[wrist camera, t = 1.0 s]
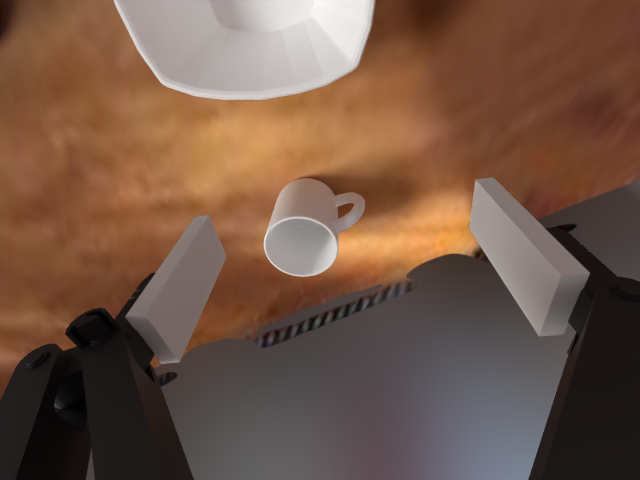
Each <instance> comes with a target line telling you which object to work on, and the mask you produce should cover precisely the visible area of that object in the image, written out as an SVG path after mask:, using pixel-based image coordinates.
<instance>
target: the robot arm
mask: <svg viewBox="0 0 640 480" xmlns="http://www.w3.org/2000/svg"><path fill="white" fill-rule="evenodd" d="M469 229H470V231H471V232H472V234H473V235H474V237H475V239H476V240H477V242H478V243H479V245H480V246H481V248H482V249H483V251H484V252H485V254H486V255H487V257H488V259H489V260H490V262H491V263H492V265H493V266H494V268H495V269H496V271H497V272H498V274H499V275H500V277H501V278H502V280H503V282H504V283H505V285H506V286H507V288H508V289H509V291H510V292H511V294H512V295H513V297H514V298H515V300H516V302H517V303H518V305H519V306H520V308H521V309H522V311H523V312H524V314H525V315H526V317H527V318H528V320H529V322H530V323H531V325H532V326H533V328H534V329H535V331H536V332H537V334H538V335H539V336H547V335H561V334H564V332H565V330H566V327H567V325H568V323H570V324H571V326H572V327H573V328H574V330H575V331H576V334H575V337H574V339H573V341H572V343H571V345H570V347H569V349H568V351H567V353H569V354H568V358H567V361H566V364H565V367H564V370H563V373H562V377H561V380H560V383H559V386H558V389H557V392H556V395H555V398H554V401H553V404H552V407H551V411H550V414H549V417H548V420H547V423H546V426H545V429H544V432H543V435H542V439H541V442H540V445H539V448H538V451H537V454H536V457H535V460H534V464H533V467H532V470H531V473H530V476H529V479H528V480H640V282H639V281H636V280H633V279H630V278H624V277H617V276H616V275H615V274H614V273H613V272H612V271H611V270H609V269H608V268H607V267H606V266H605V265H604V264H602V262H601V261H599V260H598V259H597V258H596V257H595V256H594V255H593V254H592V253H591V252H588V250H587V249H586V248H585V247H584V246H583V245H580V243H579V242H578V241H577V240H576V239H575V238H574V237H573V236H572V235H571V234H569V233H567V232H565V231H563V230H561V229H559V228H557V227H552V228H544V227H543V226H542V225H541V224H540V223H539V222H538V221H537V220H536V219H535V218H534V217H533V216H532V215H531V214H530V213H529V212H528V211H527V210H526V209H525V208H524V207H523V206H522V205H521V204H520V203H519V202H518V201H516V200H515V199H514V198H513V197H512V196H511V195H510V194H509V193H508V192H507V191H506V190H505V189H504V188H503V187H502V186H501V185H500V184H499V183H498V182H497V181H496V180H495V179H494V178H493V177H491V178H484V179H476V180H475V187H474V195H473V203H472V211H471V219H470V226H469ZM226 257H227V256H226V254H225V252H224V249H223V247H222V245H221V242H220V240H219V238H218V236H217V233H216V231H215V229H214V226H213V224H212V222H211V219H210V217H209V215H206V216H199V217H194V219H193V220H192V222H191V223H190V225H189V226H188V227H187V229H186V230H185V232H184V233H183V235H182V236H181V237H180V239H179V240H178V242H177V243H176V245H175V246H174V248H173V249H172V250H171V252H170V253H169V255H168V256H167V258H166V259H165V260H164V262H163V263H162V265H161V266H160V268H159V269H158V270H157V272H156V273H152V274H150V275H149V276H148V277H147V278H146V279H144V280H143V281H142V282H141V284H140V285H139V287H138V288H137V289H136V292H134V293H133V295H132V296H131V299H129V300H128V302H127V303H126V304H125V306H124V307H123V309H122V310H121V311H120V313H119V314H118V315H117V317H116V318H115V320H114V319H113V318H112V316H111V315H110V314H109V313H108V312H107V310H106V309H104V308H97V309H92V310H90V311H87V312H85V313H84V314H82V315H80V316H79V317H77V318H76V319H75V320H74V321H73V322H71V324H70V325H69V326H68V328H67V329H66V333H65V334H66V335H67V336H68V337H69V338H70V339H71V340H72V341H73V342H74V343H75V344H76V345H77V347H74V348H71V349H68V350H65V351H63V350H62V349H61V348H60V347H59V346H57V345H56V344H47V345H44V346H41V347H39V348H37V349H35V350H33V351H32V352H31V353H29V354H27V355H26V356H25V357H24V358H23V359H22V360H21V361H20V362H19V364H18V365H17V367H16V368H15V370H14V373H13V375H12V377H11V379H10V381H9V384H8V386H7V388H6V390H5V392H4V395H3V397H2V399H1V401H0V480H86V475H87V469H88V463H89V457H90V451H91V448H92V457H93V466H94V473H95V480H194V478H193V476H192V473H191V470H190V467H189V465H188V462H187V459H186V456H185V454H184V451H183V448H182V445H181V443H180V440H179V437H178V434H177V431H176V429H175V426H174V423H173V420H172V417H171V415H170V412H169V409H168V406H167V404H166V401H165V399H164V395H163V392H162V390H161V387H160V384H159V381H158V379H157V376H156V374H155V370H154V368H153V367H152V366H151V364H150V362H151V360H152V358H153V356H154V355H155V356H156V357H157V359H158V360H159V361H160V362H161V364H163V363H176V362H180V360H181V358H182V355H183V353H184V351H185V349H186V347H187V344H188V342H189V340H190V338H191V335H192V333H193V331H194V329H195V326H196V324H197V322H198V320H199V317H200V315H201V313H202V311H203V309H204V306H205V304H206V302H207V300H208V297H209V295H210V293H211V291H212V288H213V286H214V284H215V282H216V279H217V277H218V275H219V273H220V271H221V268H222V266H223V264H224V262H225V259H226Z"/></svg>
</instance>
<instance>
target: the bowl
mask: <svg viewBox="0 0 640 480" xmlns="http://www.w3.org/2000/svg"><path fill="white" fill-rule="evenodd" d="M113 1H114V3H115V5H116V8H117V10H118V12H119V14H120V16H121V18H122V20H123V22H124V24H125V26H126V28H127V30H128V32H129V34H130V36H131V38H132V40H133V42H134V44H135V46H136V48H137V50H138V51H139V53H140V54H141V56H142V57H143V58H144V60H145V61H146V63H147V64H148V65H149V67H150V68H151V70H152V71H153V72H154V74H155V75H156V77H157V78H158V79H159V81H160V82H161V83H162V84H163V85H165V86H167V87H169V88H172V89H175V90H178V91H181V92H184V93H187V94H190V95H193V96H196V97H205V98H214V99H222V100H264V99H270V98H276V97H282V96H288V95H293V94H299V93H302V92H306V91H309V90H313V89H316V88H319V87H323V86H326V85H328V84H330V83H332V82H334V81H336V80H337V79H339V78H341V77H343V76H345V75H346V74H348V73H350V72H352V71H354V70H355V69H356V68H357V67H358V65H359V63H360V61H361V58H362V55H363V52H364V49H365V46H366V43H367V40H368V37H369V34H370V31H371V28H372V22H373V15H374V9H375V2H376V0H113Z"/></svg>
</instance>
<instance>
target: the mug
mask: <svg viewBox="0 0 640 480" xmlns="http://www.w3.org/2000/svg"><path fill="white" fill-rule="evenodd" d="M348 203H353V204H354V206H353V208H352V210H351V211H350V212H349V213H347V214H346V215H345V216H343V217H341V218H339V219H338V207H339V206H341V205H344V204H348ZM364 209H365V201H364V199H363V197H362V196H361V195H359V194H357V193H353V192H349V193H343V194H339V195H336V196H335V195H334V193H333V191H332V190H331V189H330V188H329V187H328V186H327V185H326V184H324V183H323V182H321V181H318V180H315V179H311V178H302V179H297V180H294V181H292V182H290V183H289V184H287V185H286V186H285V187H284V188H283V190H282V191H281V192H280V194H279V196H278V199H277V202H276V205H275V208H274V211H273V214H272V217H271V220H270V223H269V226H268V229H267V232H266V235H265V239H264V249H265V253H266V255H267V257H268V259H269V260H270V262H271V263H272V264H273V265H274V266H275V267H276V268H278V269H279V270H281V271H283V272H285V273H287V274H290V275H294V276H313V275H317V274H319V273H322V272H324V271H325V270H327V269H328V268H329V267H330V266H331V265H332V264H333V263H334V261H335V260H336V257H337V255H338V233H341V232H343V231H345V230H346V229H348V228H350V227H351V226H352V225H354V224H355V223H356V222H357V221H358V220H359V219H360V218H361V216H362V215H363V212H364Z"/></svg>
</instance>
